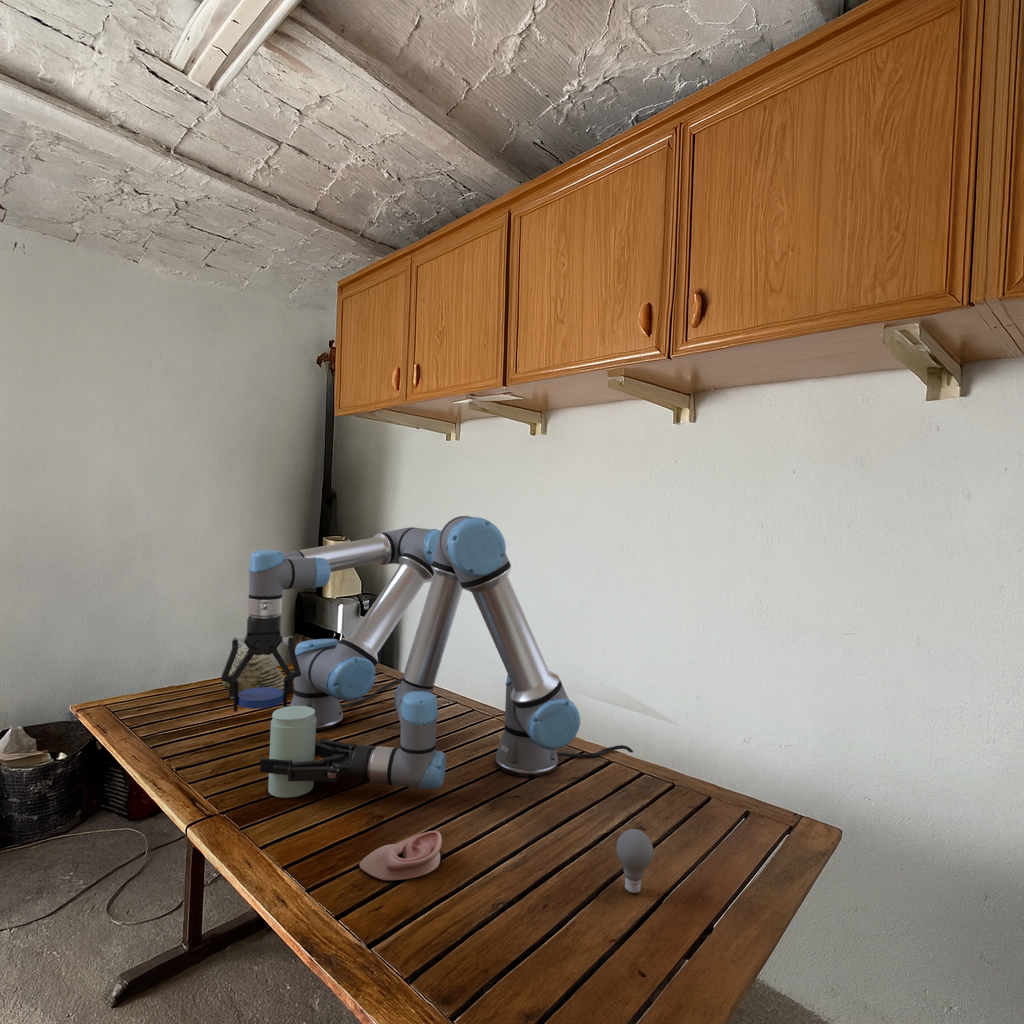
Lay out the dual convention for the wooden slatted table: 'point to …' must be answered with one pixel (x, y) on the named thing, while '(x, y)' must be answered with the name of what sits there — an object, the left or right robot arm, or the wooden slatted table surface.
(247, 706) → the lid
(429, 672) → the right robot arm
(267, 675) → the fossil
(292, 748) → the jar
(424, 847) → the anatomical model
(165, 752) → the wooden slatted table surface
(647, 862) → the light bulb
